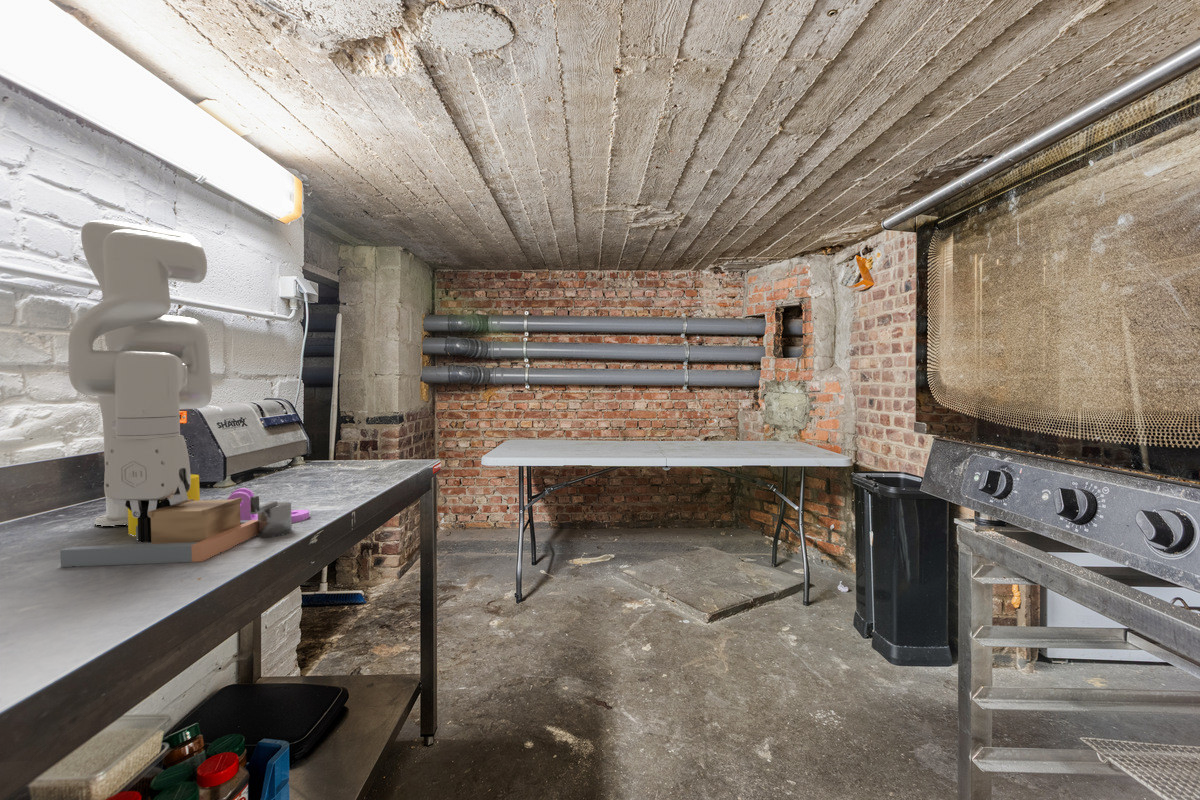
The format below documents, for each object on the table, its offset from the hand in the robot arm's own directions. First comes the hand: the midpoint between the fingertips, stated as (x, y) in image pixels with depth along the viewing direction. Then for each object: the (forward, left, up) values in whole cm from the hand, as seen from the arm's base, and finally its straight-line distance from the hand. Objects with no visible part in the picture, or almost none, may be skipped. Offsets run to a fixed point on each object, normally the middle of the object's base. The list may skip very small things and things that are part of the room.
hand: (152, 539), depth 77 cm
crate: (0, +7, -2) cm, 7 cm away
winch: (-5, +15, -2) cm, 16 cm away
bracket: (-15, +10, -2) cm, 18 cm away
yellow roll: (-13, -8, -2) cm, 15 cm away
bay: (0, +2, -2) cm, 3 cm away
